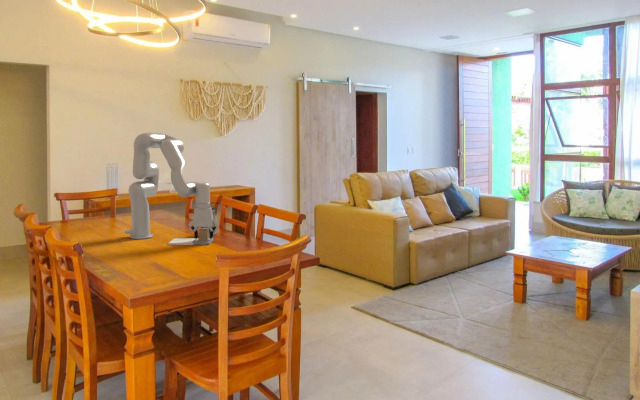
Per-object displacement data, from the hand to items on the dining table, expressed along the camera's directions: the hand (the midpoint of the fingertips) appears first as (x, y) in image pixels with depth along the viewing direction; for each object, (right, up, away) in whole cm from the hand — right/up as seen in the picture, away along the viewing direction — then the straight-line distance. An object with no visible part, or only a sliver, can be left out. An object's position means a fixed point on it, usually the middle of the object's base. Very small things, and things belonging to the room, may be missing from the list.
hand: (203, 238), depth 266 cm
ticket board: (-11, -2, 0) cm, 11 cm away
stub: (0, -2, 0) cm, 2 cm away
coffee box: (-2, 0, +20) cm, 20 cm away
